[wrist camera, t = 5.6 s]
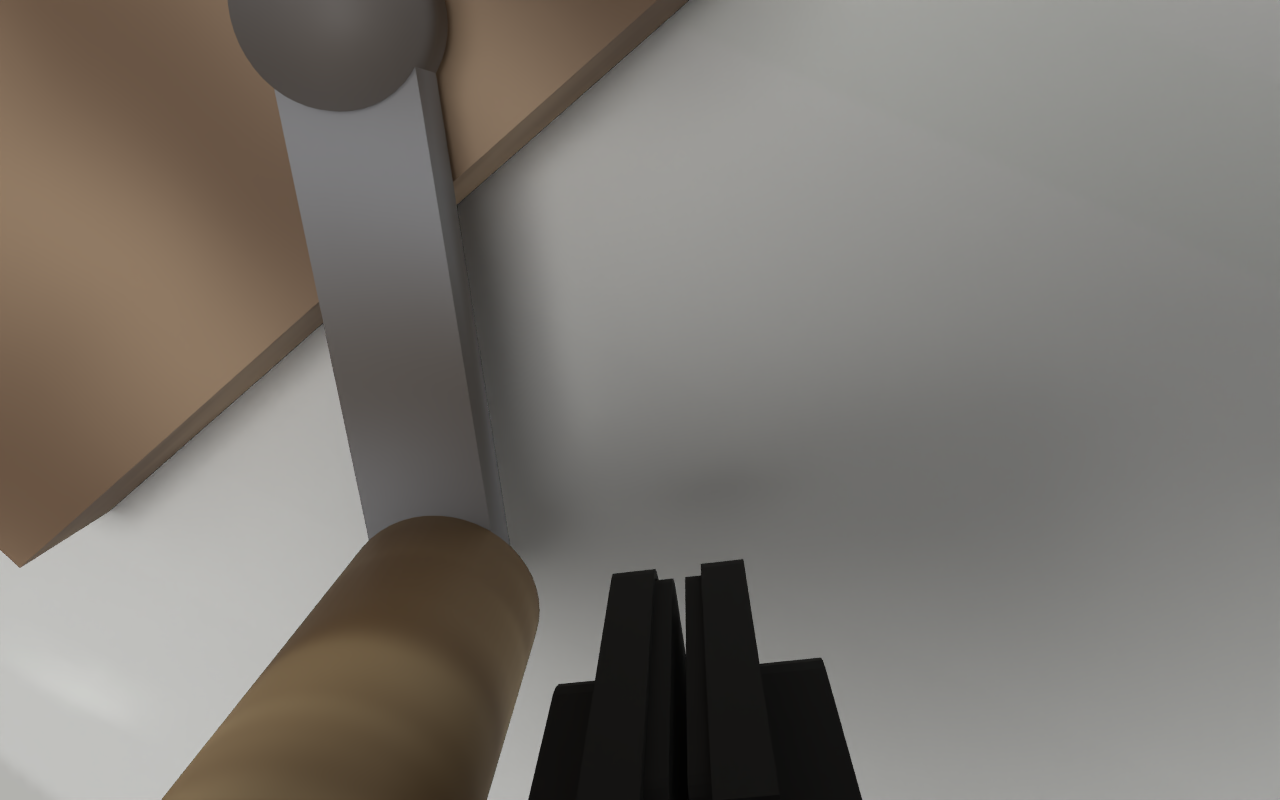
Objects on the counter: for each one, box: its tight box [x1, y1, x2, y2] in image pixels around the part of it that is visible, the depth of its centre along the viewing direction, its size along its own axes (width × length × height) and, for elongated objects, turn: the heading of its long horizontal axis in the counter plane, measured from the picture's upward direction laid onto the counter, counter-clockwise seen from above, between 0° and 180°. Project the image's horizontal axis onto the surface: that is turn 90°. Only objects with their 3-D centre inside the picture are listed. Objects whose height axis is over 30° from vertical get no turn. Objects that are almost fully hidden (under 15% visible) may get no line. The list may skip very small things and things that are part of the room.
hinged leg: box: [162, 0, 540, 800], centre depth 10 cm, size 12×3×8 cm, turn 6°
